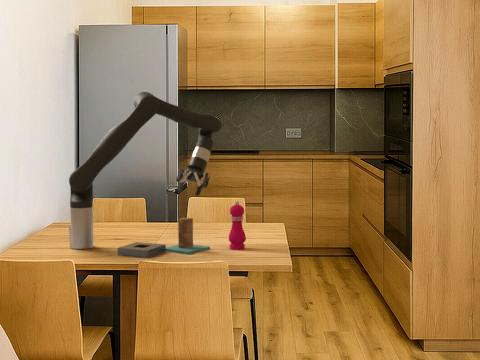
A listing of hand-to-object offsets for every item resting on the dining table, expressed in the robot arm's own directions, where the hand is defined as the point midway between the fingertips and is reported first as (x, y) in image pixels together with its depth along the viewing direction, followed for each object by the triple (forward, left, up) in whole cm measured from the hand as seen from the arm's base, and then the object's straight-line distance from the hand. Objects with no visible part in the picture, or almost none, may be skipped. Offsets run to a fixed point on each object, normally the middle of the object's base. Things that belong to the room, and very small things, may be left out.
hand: (187, 193), depth 327 cm
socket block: (-4, -25, -22) cm, 34 cm away
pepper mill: (+22, +5, -22) cm, 32 cm away
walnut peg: (+6, -9, -21) cm, 24 cm away
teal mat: (+6, -9, -22) cm, 25 cm away
